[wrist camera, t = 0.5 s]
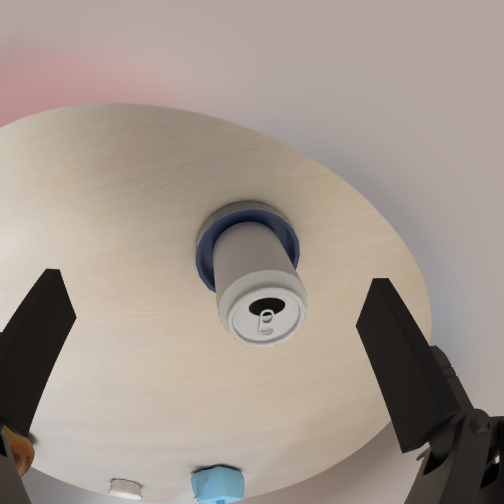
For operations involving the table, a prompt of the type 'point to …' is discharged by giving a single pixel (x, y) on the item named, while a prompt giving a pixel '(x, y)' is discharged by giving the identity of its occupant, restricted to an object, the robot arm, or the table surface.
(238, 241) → the can
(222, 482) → the teapot
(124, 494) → the ramekin
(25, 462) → the ceramic pitcher
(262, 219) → the dish
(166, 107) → the table surface
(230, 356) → the table surface
